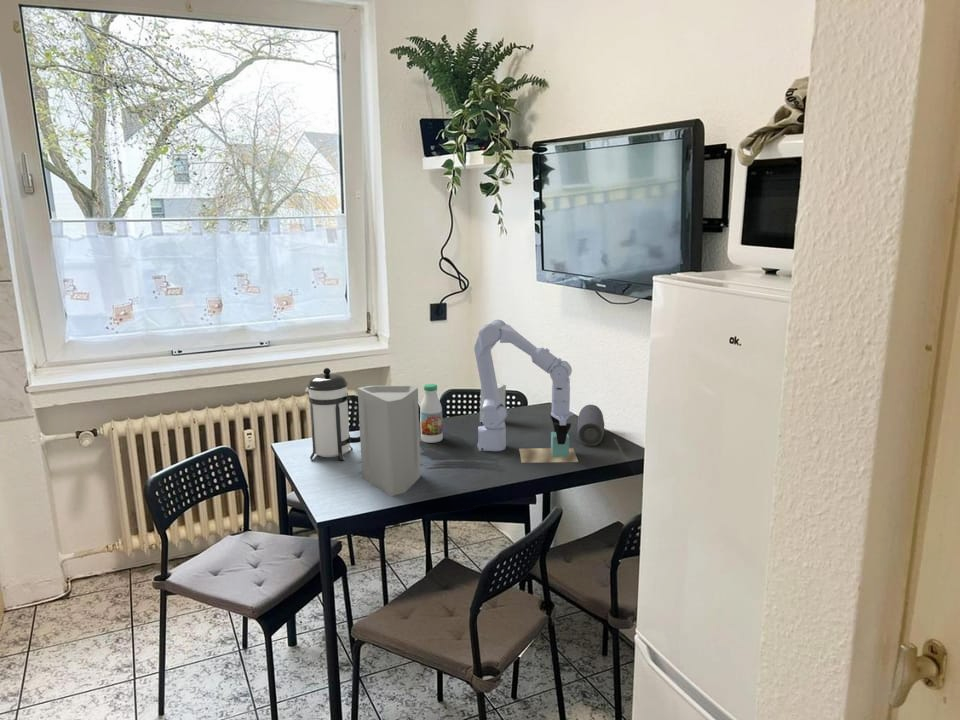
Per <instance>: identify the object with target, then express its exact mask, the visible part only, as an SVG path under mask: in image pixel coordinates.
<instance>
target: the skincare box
mask: <svg viewBox="0 0 960 720" xmlns="http://www.w3.org/2000/svg"><path fill="white" fill-rule="evenodd" d="M497 387H498V392H499V396H500V398H501V399H502V400H503V404H504V406H505V407H506V393H507V391H506V389H507V385H506V384H502V383H497ZM479 400H480V401H479V402H480V403H479V405H480V406H479V408H480V409H479V423H481V422H482V415H483V409H482V408H483V403H484V397H483V392H482V387H481V386H480V399H479ZM505 420H506V419H505ZM505 420H504V422H506V421H505ZM481 424H483V422H482V423H481Z"/></svg>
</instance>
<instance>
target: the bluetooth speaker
mask: <svg viewBox="0 0 960 720" xmlns="http://www.w3.org/2000/svg"><path fill="white" fill-rule="evenodd" d="M603 414H604V413H603V412H602V410H601V409H600V408H599V406H597V405H595V404H586V405H584V406H583V407H582V408H581V409H580V412H579V413H578V417H577V425H576V426H577V428H576V429H577V436H578V439H579V441H580V443H582V444H583V445H584V446H592V447H593V446H594V447H595V446H598V445H599V444H600V443H601V442H602V440H603V438H604V434H605V419H604V415H603Z"/></svg>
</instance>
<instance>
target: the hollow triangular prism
mask: <svg viewBox="0 0 960 720" xmlns="http://www.w3.org/2000/svg"><path fill="white" fill-rule="evenodd" d="M357 396H358V403H359V404H358V403H357V404H358V419H359V420H358V421H359V423H358V424H359V437H360V442H359V443H360V457H361V458H360V460H361V477H362V478H363V479H364V480H366V481H367V482H369V483H371V484H372V485H374V486H375V487H377V488H378V489H380V490H381V491H383V492H384V493H386V494H387V495H389V496H392V497H393V496H397V495H401V494H405V493H407V491H408V490H410V489H411V487H412V486H413V485H414V484H415V483H416V482H417V481H418V480H420V478H421V474H422V473H421V449H420V447H421V446H420V445H421V444H420V439H421V438H420V413H419V412H420V409H419V408H420V407H419V387H418V386H416V385H366V386H362V387H361V386H360V387H358V388H357Z"/></svg>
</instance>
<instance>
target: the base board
mask: <svg viewBox="0 0 960 720" xmlns="http://www.w3.org/2000/svg"><path fill="white" fill-rule="evenodd" d="M518 451H519V455H520V461H521V462H520V463H521V464H522V463H524V464H527V463H528V464H531V463H535V464H536V463H538V464H539V463H578V462H579V460H578V457H577V455H576V452H575V449H574V447H569V457H553V456H552V453H551V447H550V448H549V447H548V448H545V447H544V448H541V447H539V448H518Z"/></svg>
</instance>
